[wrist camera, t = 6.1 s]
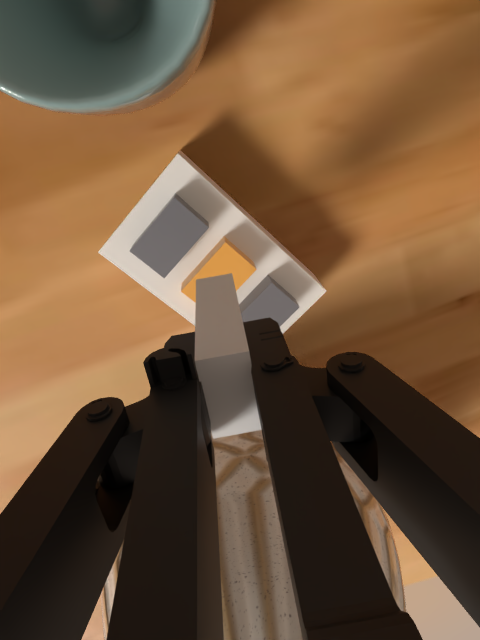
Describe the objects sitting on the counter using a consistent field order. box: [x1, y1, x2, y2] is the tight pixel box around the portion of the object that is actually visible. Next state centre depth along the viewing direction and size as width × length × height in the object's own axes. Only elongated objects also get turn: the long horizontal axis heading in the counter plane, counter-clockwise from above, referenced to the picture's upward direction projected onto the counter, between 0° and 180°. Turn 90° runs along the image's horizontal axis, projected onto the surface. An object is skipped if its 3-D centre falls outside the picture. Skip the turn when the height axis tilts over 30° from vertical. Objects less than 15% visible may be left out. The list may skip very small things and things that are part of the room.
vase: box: [102, 430, 406, 640], centre depth 21 cm, size 16×16×20 cm
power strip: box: [98, 150, 326, 334], centre depth 22 cm, size 10×6×4 cm, turn 47°
